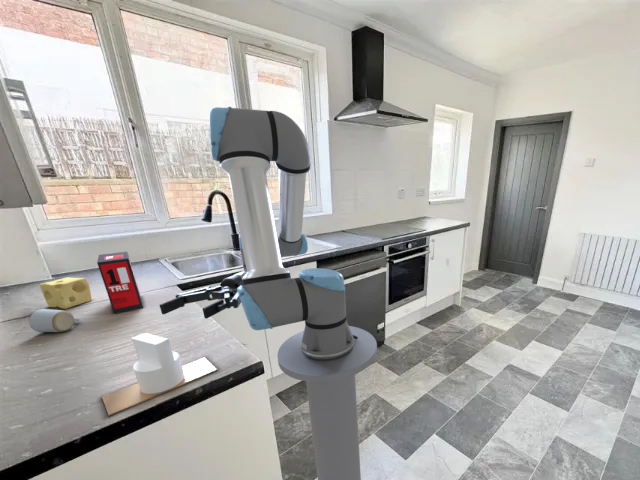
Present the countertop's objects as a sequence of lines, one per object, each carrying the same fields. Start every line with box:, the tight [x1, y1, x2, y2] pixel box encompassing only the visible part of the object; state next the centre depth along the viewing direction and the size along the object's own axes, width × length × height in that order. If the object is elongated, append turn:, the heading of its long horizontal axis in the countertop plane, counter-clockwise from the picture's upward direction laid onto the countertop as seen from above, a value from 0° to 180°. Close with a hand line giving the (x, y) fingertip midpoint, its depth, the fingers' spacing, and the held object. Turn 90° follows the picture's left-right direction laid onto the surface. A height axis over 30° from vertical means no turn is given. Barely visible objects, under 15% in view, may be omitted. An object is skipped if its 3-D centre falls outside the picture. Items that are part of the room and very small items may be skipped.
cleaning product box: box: [96, 251, 144, 314], centre depth 122 cm, size 16×9×20 cm, turn 40°
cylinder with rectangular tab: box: [131, 332, 184, 394], centre depth 74 cm, size 9×9×12 cm
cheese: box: [39, 276, 93, 310], centre depth 126 cm, size 10×11×10 cm
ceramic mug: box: [28, 308, 80, 333], centre depth 104 cm, size 11×8×8 cm
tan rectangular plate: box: [101, 356, 218, 417], centre depth 76 cm, size 22×9×1 cm, turn 138°
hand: (182, 311), depth 80 cm, fingers open, 13 cm apart
